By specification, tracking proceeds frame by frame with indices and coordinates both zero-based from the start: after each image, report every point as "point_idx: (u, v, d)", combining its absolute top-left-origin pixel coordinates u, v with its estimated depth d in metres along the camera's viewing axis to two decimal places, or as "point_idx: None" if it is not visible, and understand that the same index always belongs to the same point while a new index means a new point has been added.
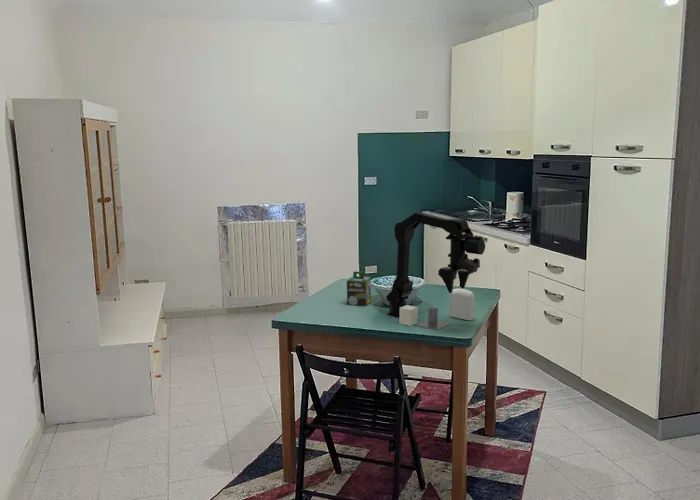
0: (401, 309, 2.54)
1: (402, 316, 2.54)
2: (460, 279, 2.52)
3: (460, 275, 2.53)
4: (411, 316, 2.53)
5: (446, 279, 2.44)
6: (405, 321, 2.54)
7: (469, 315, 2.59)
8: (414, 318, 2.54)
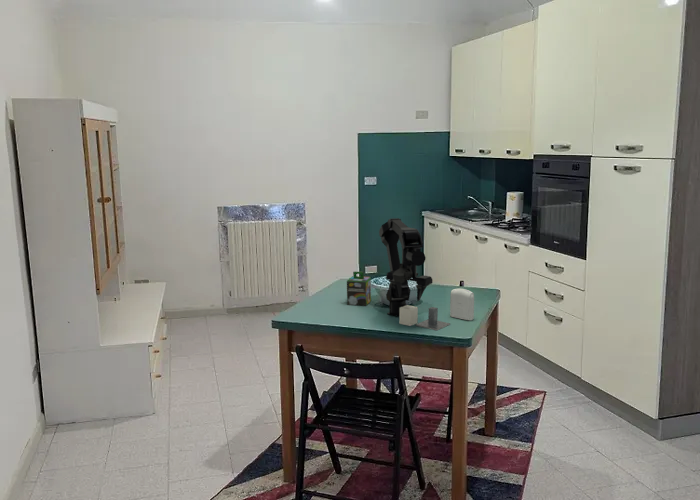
0: (401, 309, 2.54)
1: (402, 316, 2.54)
2: None
3: None
4: (411, 316, 2.53)
5: None
6: (405, 321, 2.54)
7: (469, 315, 2.59)
8: (414, 318, 2.54)
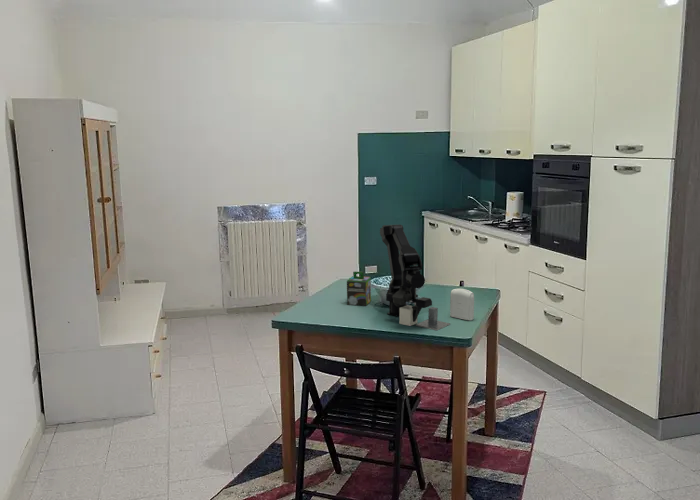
0: (401, 309, 2.54)
1: (402, 316, 2.54)
2: None
3: None
4: (411, 316, 2.53)
5: (401, 305, 2.58)
6: (405, 321, 2.54)
7: (469, 315, 2.59)
8: None
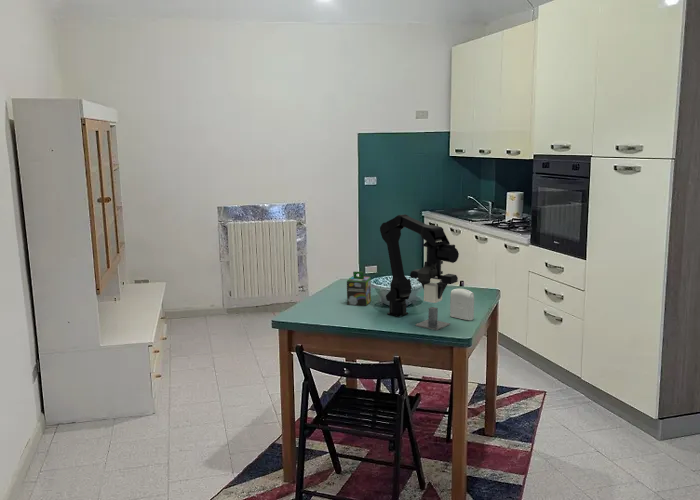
0: (426, 286, 2.50)
1: (427, 293, 2.50)
2: None
3: None
4: (436, 293, 2.48)
5: None
6: (430, 298, 2.49)
7: (469, 315, 2.59)
8: None
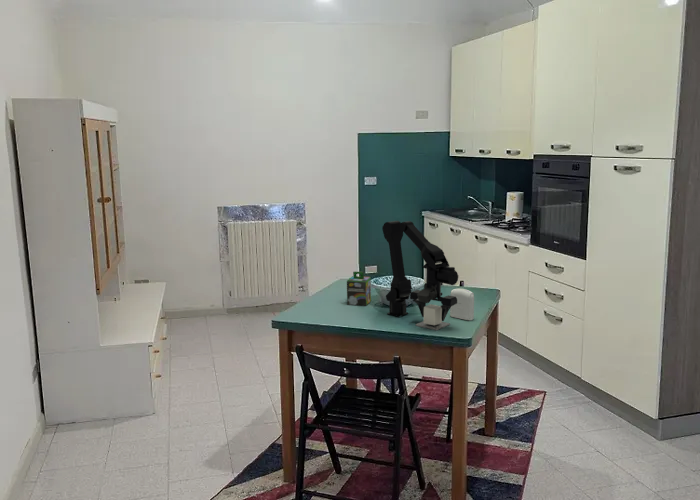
0: (425, 308, 2.51)
1: (426, 315, 2.52)
2: None
3: None
4: (436, 315, 2.50)
5: None
6: (430, 320, 2.51)
7: (469, 315, 2.59)
8: (438, 317, 2.52)
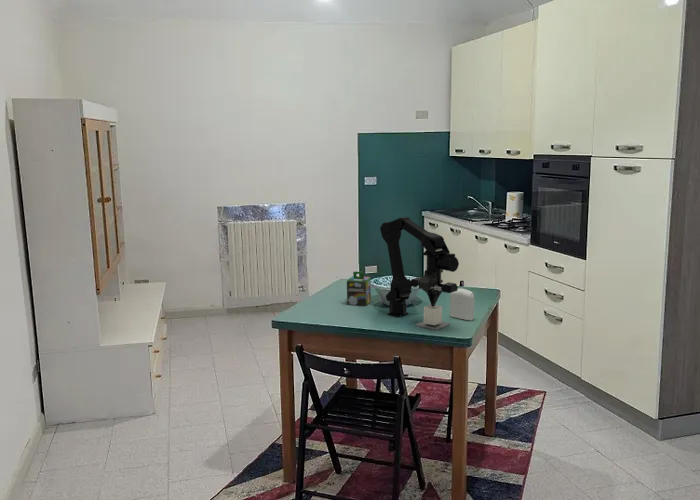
0: (425, 308, 2.51)
1: (426, 315, 2.52)
2: None
3: None
4: (436, 315, 2.50)
5: None
6: (430, 320, 2.51)
7: (469, 315, 2.59)
8: (438, 317, 2.52)
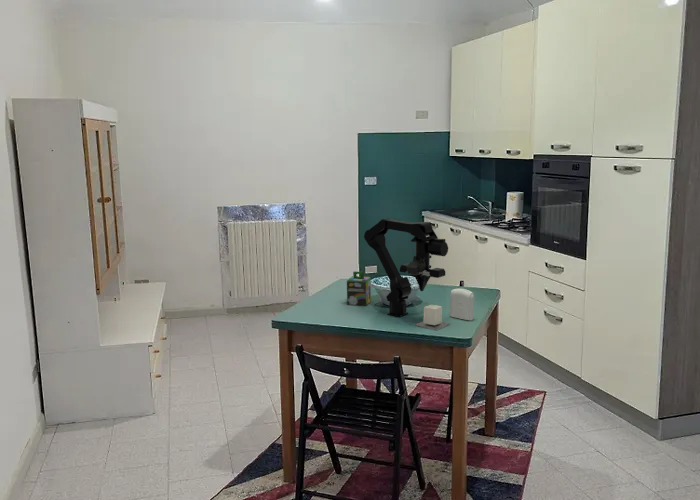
0: (425, 308, 2.51)
1: (426, 315, 2.52)
2: None
3: None
4: (436, 315, 2.50)
5: None
6: (430, 320, 2.51)
7: (469, 315, 2.59)
8: (438, 317, 2.52)
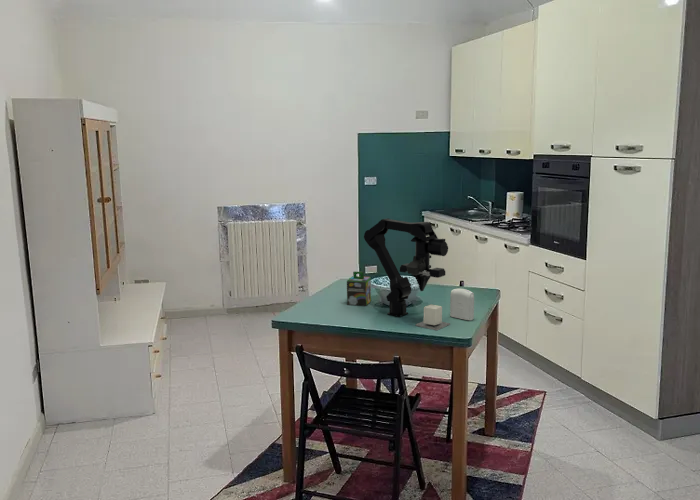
0: (425, 308, 2.51)
1: (426, 315, 2.52)
2: None
3: None
4: (436, 315, 2.50)
5: None
6: (430, 320, 2.51)
7: (469, 315, 2.59)
8: (438, 317, 2.52)
